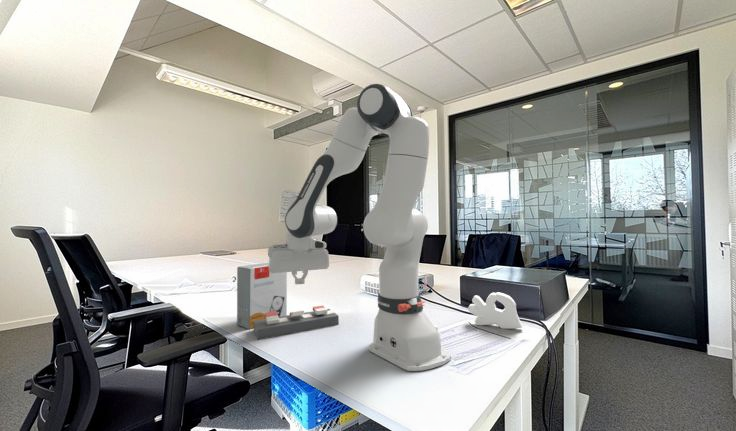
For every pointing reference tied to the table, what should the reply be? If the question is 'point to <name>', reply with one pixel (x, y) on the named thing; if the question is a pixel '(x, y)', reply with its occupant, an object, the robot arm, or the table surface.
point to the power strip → (295, 324)
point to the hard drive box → (259, 293)
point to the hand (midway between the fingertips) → (299, 283)
